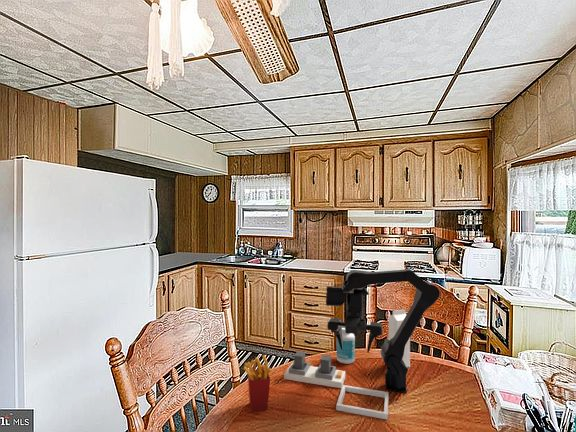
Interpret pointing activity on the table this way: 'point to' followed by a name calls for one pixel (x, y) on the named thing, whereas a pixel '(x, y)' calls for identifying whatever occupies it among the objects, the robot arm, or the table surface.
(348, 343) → the pill bottle
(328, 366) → the plug
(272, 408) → the table surface
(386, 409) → the white square frame
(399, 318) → the milk
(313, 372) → the power strip
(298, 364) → the plug
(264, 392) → the french fries
